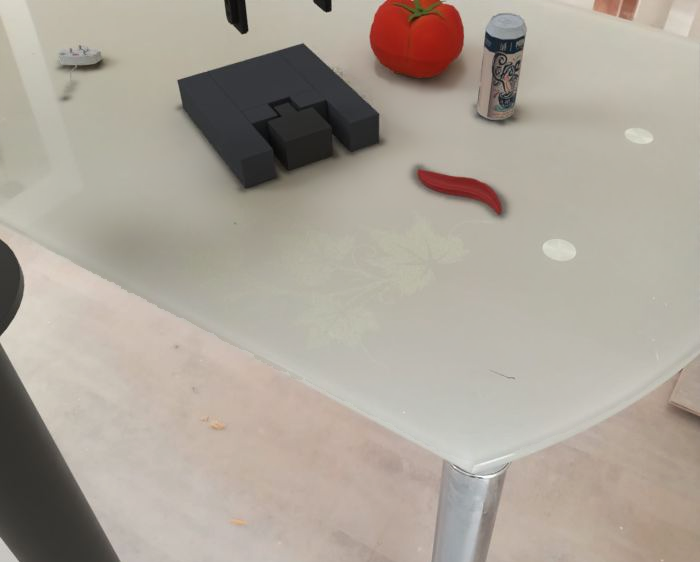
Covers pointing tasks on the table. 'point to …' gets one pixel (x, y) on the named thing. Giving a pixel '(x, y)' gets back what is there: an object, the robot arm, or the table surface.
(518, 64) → the beer can
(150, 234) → the table surface
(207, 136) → the grey pad
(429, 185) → the cayenne pepper
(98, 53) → the game controller
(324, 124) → the black puzzle block
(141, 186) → the table surface
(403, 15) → the tomato
